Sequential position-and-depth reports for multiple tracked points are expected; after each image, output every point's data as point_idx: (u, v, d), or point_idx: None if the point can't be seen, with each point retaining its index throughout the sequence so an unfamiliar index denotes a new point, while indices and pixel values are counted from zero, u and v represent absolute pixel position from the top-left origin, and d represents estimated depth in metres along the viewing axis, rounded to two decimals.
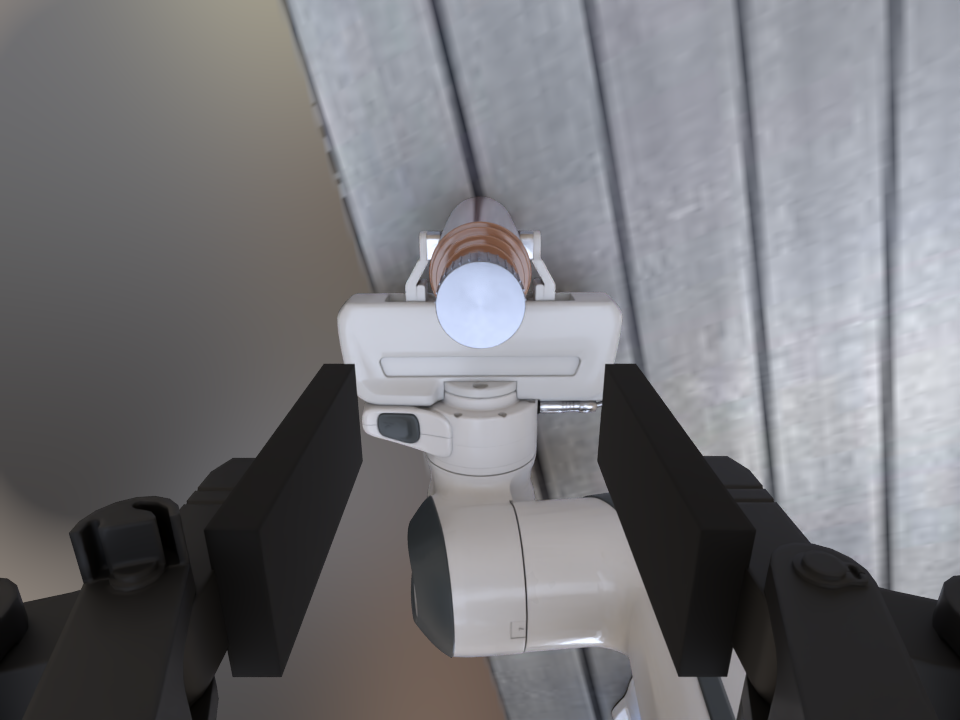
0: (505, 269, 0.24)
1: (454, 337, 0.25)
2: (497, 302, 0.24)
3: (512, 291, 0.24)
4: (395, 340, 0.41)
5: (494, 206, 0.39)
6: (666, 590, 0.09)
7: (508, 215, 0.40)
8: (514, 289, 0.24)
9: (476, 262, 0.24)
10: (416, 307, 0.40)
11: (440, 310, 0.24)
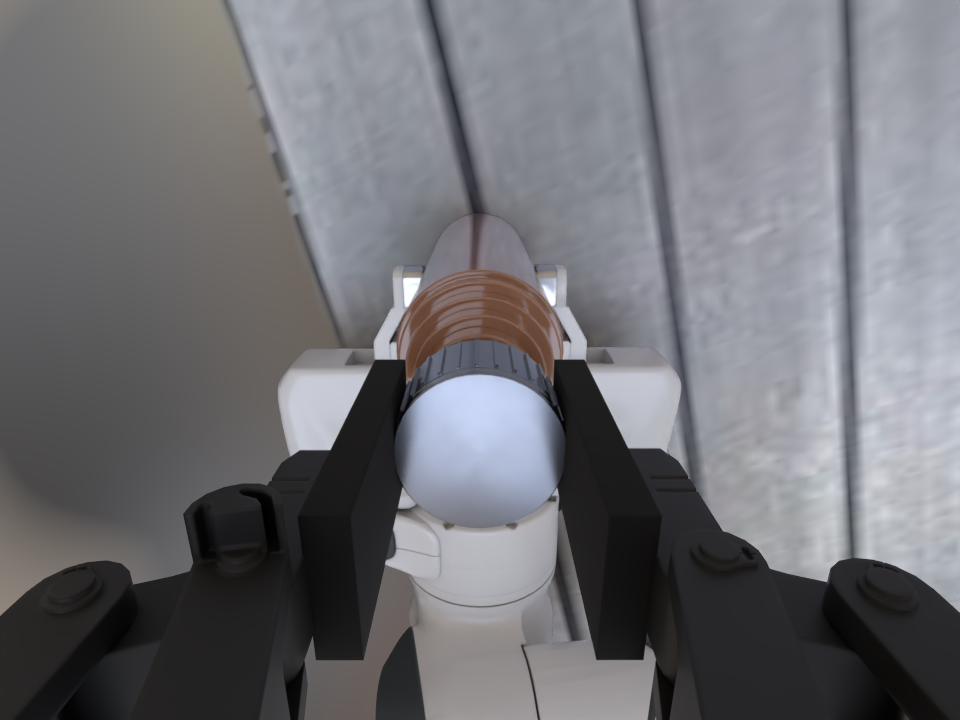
0: (529, 388, 0.12)
1: (430, 509, 0.13)
2: (513, 448, 0.12)
3: (542, 428, 0.12)
4: None
5: (500, 231, 0.28)
6: (589, 577, 0.10)
7: (520, 243, 0.28)
8: (546, 425, 0.12)
9: (472, 375, 0.12)
10: None
11: (402, 462, 0.13)
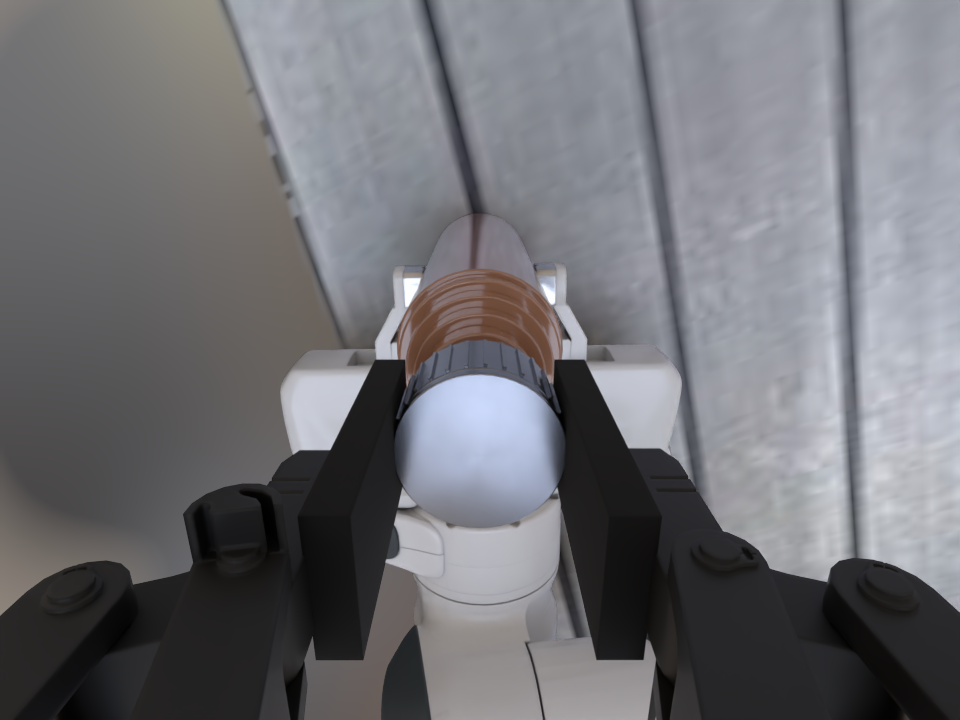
0: None
1: (559, 469, 0.13)
2: (457, 432, 0.12)
3: (423, 418, 0.12)
4: None
5: (499, 230, 0.28)
6: (589, 577, 0.10)
7: (519, 242, 0.29)
8: (417, 417, 0.12)
9: (410, 496, 0.13)
10: None
11: (522, 510, 0.13)
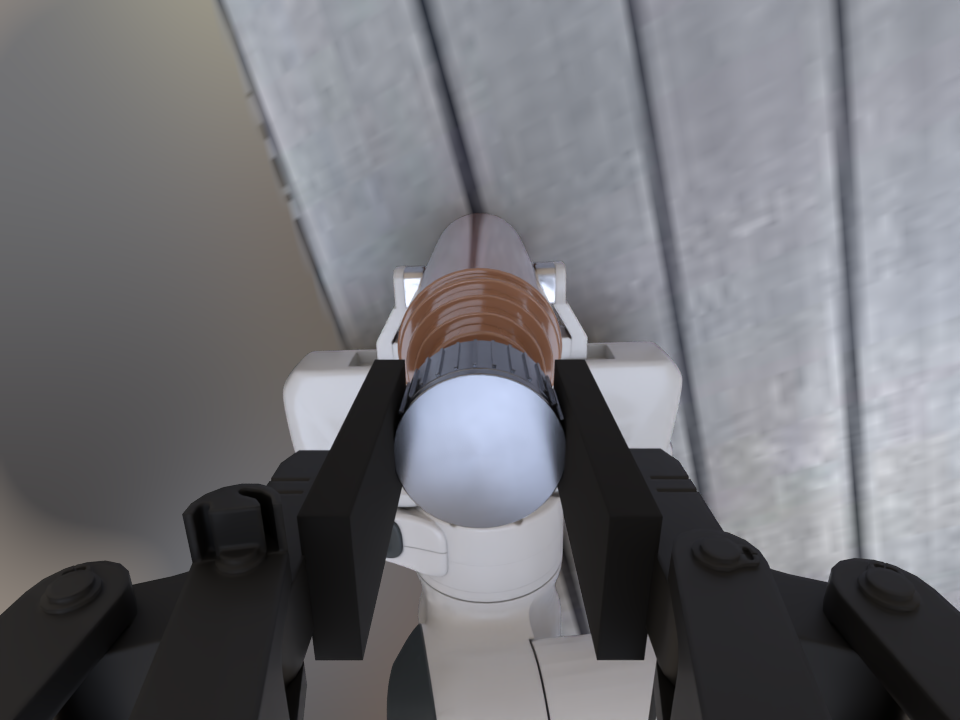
0: (512, 521, 0.13)
1: (453, 383, 0.12)
2: (468, 483, 0.13)
3: (471, 512, 0.13)
4: None
5: (498, 230, 0.28)
6: (590, 577, 0.10)
7: (518, 241, 0.29)
8: (472, 516, 0.13)
9: (553, 489, 0.13)
10: None
11: (517, 391, 0.12)
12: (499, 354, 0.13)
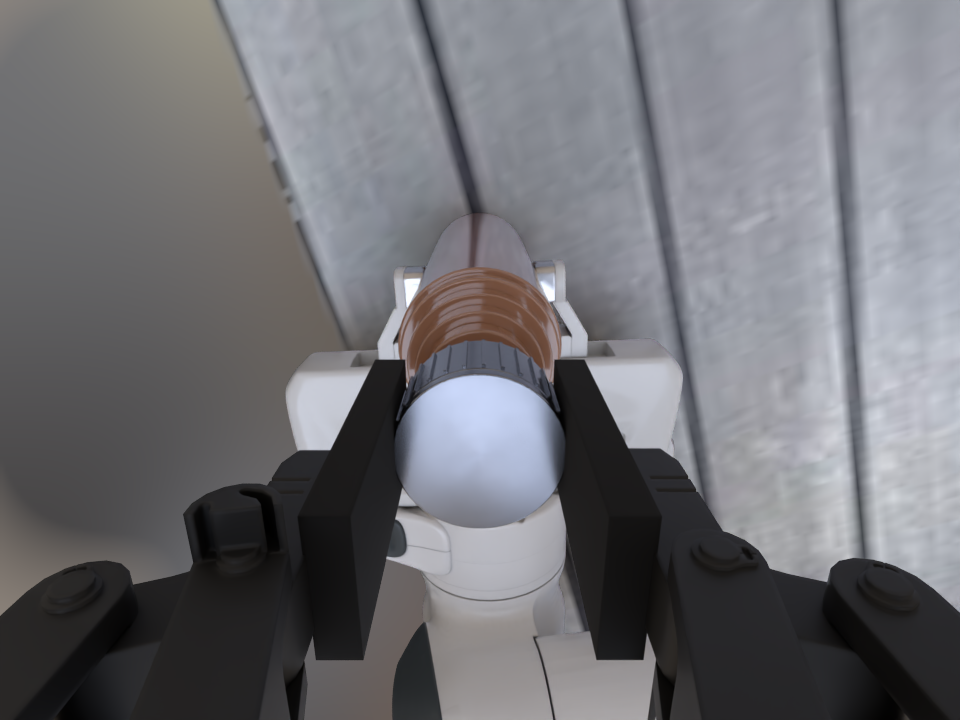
0: (534, 392, 0.12)
1: (425, 506, 0.13)
2: (513, 451, 0.12)
3: (544, 433, 0.12)
4: None
5: (498, 229, 0.28)
6: (589, 577, 0.10)
7: (518, 240, 0.29)
8: (548, 430, 0.12)
9: (478, 375, 0.12)
10: None
11: (401, 457, 0.13)
12: None
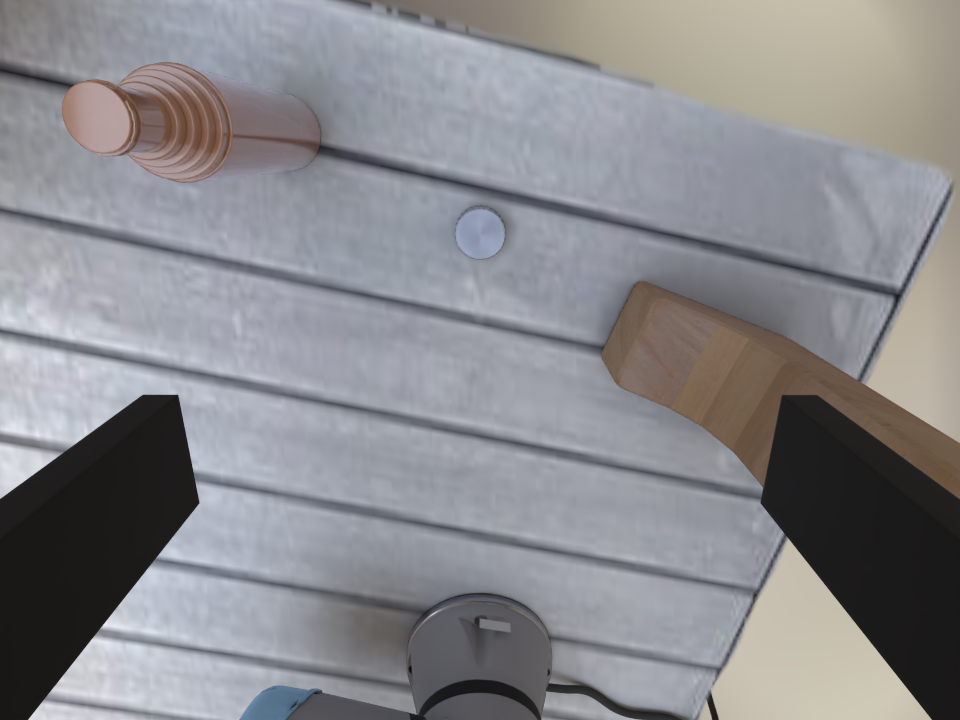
0: (495, 214, 0.44)
1: (464, 251, 0.45)
2: (489, 233, 0.44)
3: (498, 227, 0.44)
4: None
5: (285, 163, 0.39)
6: None
7: (274, 172, 0.39)
8: (499, 226, 0.44)
9: (479, 209, 0.44)
10: None
11: (458, 235, 0.44)
12: None
